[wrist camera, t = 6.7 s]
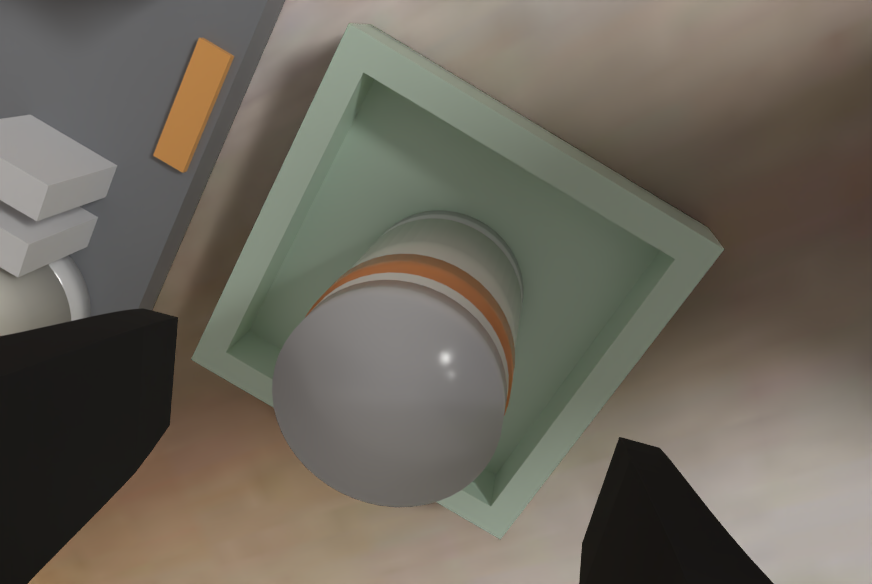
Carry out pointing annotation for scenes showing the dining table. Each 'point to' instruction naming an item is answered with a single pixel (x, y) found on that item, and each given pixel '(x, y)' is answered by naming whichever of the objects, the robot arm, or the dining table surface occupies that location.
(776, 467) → the dining table surface
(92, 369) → the robot arm
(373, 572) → the dining table surface
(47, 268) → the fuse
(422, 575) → the dining table surface
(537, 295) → the tray
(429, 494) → the cylinder
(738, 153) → the dining table surface
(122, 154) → the fuse holder
